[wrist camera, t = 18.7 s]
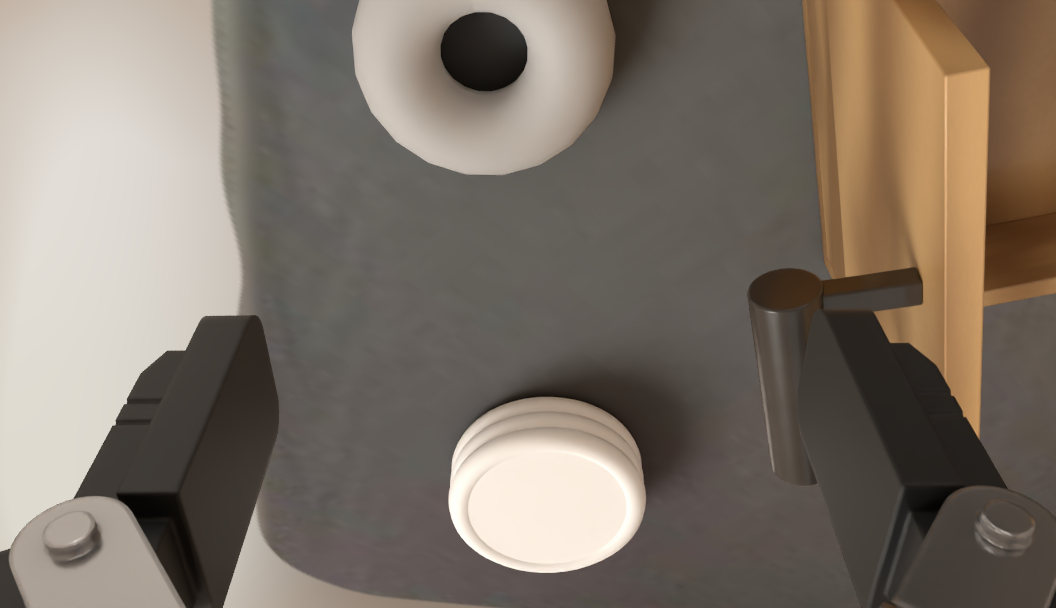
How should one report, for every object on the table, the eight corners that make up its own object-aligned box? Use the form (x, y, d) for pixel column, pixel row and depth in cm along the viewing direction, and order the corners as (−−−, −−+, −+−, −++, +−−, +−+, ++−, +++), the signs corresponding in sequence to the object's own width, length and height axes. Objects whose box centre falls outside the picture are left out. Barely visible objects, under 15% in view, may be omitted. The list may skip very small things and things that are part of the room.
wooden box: (1199, -253, 32) (1305, -237, 27) (1139, 199, 42) (1211, 264, 37) (789, -146, 34) (827, -115, 29) (823, 262, 43) (856, 331, 39)
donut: (437, 187, 41) (651, 94, 39) (428, 227, 39) (659, 130, 36) (309, -24, 36) (547, -148, 34) (289, 5, 33) (547, -128, 31)
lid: (991, 66, 17) (723, 117, 18) (974, 647, 27) (800, 659, 28) (845, -115, 29) (686, -78, 30) (869, 337, 39) (750, 352, 40)
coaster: (452, 524, 53) (447, 575, 50) (452, 387, 48) (447, 435, 45) (629, 530, 54) (635, 581, 51) (651, 394, 48) (659, 443, 45)
